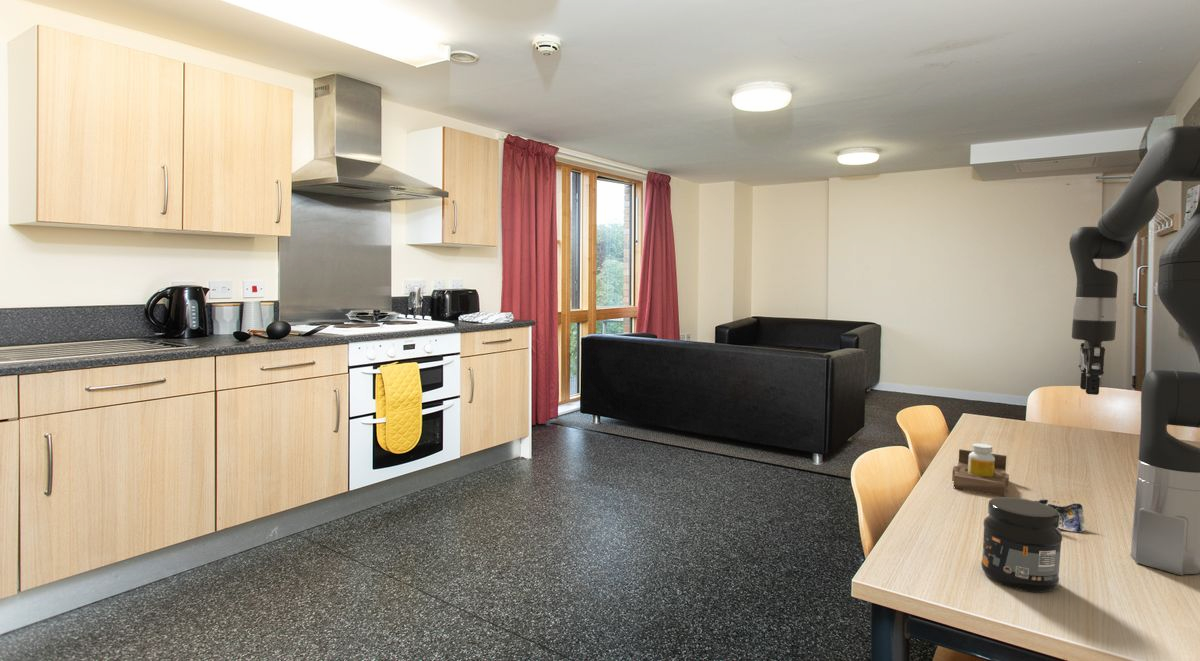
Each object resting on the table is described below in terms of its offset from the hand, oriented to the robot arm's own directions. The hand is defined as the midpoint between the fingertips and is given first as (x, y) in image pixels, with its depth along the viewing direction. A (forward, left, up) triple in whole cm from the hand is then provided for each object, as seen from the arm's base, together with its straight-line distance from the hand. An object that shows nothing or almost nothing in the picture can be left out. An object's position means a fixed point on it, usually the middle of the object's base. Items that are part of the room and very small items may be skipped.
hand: (1089, 391), depth 139 cm
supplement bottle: (-8, +18, -25) cm, 31 cm away
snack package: (-23, -1, -25) cm, 34 cm away
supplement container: (-55, -8, -25) cm, 61 cm away
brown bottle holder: (-8, +18, -24) cm, 31 cm away
